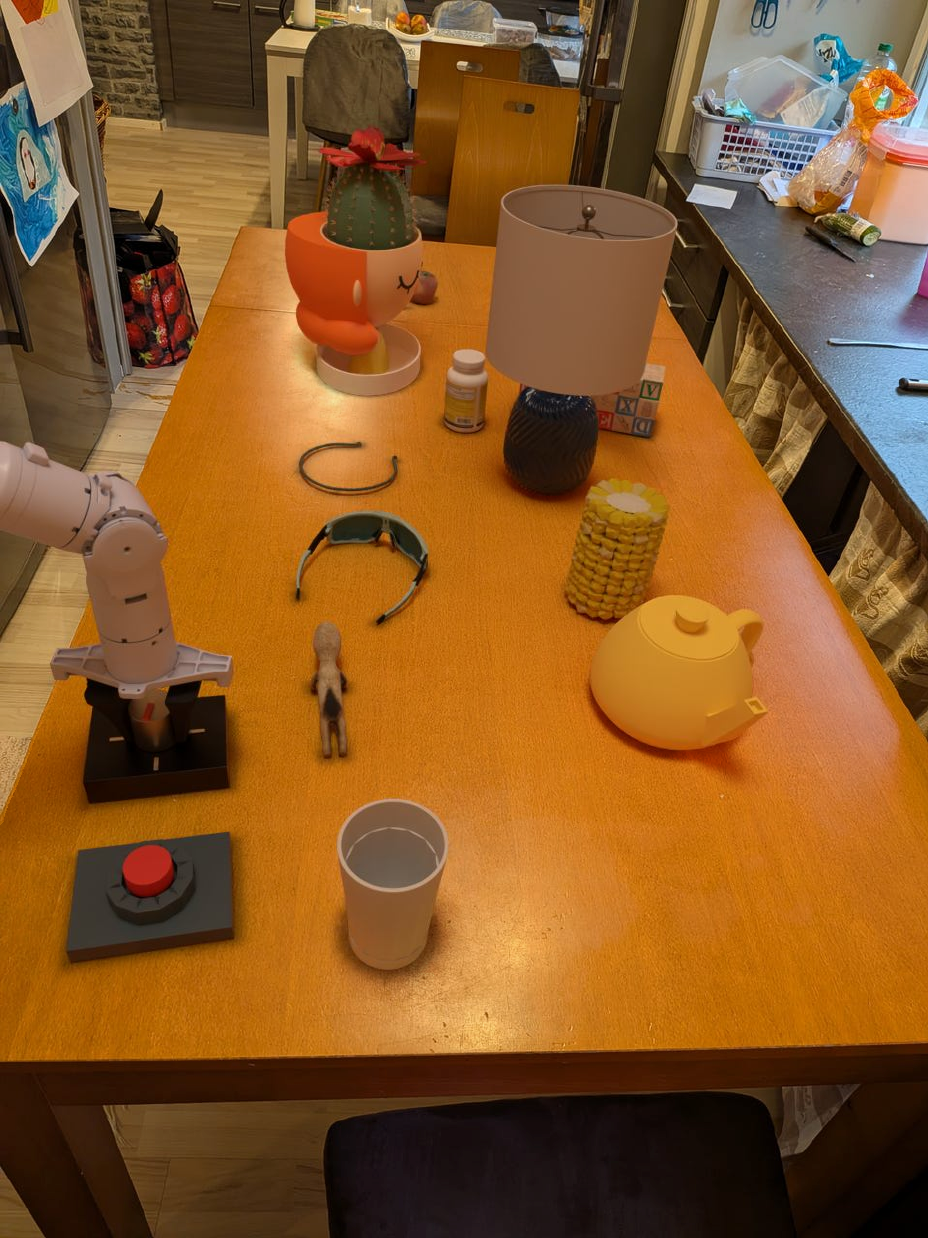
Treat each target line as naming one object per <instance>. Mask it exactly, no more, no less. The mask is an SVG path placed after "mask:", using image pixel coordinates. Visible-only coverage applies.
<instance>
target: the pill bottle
mask: <svg viewBox="0 0 928 1238" xmlns="http://www.w3.org/2000/svg"><path fill="white" fill-rule="evenodd" d="M485 364H486V355H485V354H484V353H483V352H481V351H479V350H476V349H471V348H470V349H469V348H467V349H466V348H465V349H459V350H456V351H455V352H453V354H452V365H451V366H450V367H449V368H448V369H447V372H446V379H445V393H444V408H443V409H444V410H443V423H444V425H445V426H446V427H447V428H448V429H450V430H452V431H454V432H457V433H463V434H464V433H466V434H468V433H475V432H478V431H480V430H481V429H482V428H483V427H484V424H485V415H486V405H487V394H488V383H489V375H488V374H489V373H488V372H487V371H486V369H485V366H486V365H485Z"/></svg>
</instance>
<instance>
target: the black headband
mask: <svg viewBox="0 0 928 1238" xmlns="http://www.w3.org/2000/svg"><path fill="white" fill-rule="evenodd" d="M335 446H341V447H342V446H343V447H344V446H345V447H360V446H362V442H361V441H357V442H355V443H354V442H353V443H352V442H329V443H324V444H320V445H316V446H314V447H312V448H310V449H307V450H306V451H304V453H303V454H302V455H301V456H300V458H299V460H298V468H299V470H300V473H301V474H302V476H303V477H304V478H305V479H306V480H308V481H309V482H310V483H312V484H314V485H316V486H317V487H320V488H324V489H326V490H331V491H337V492H349V493H351V492H352V493H353V492H362V491H370V490H375V489H377V488H380V487H383V486H387V485H388V484H390V483H392V481H394V479H395V477H396V476H397V473H398V465H397V461H396V460H398V456H397V455H395V454H394V455H392V457H391V461H392V464H393V467H394V470H393V473H392V475H391V476H390V477H389V478H388V479H387V480H385V481H383V482H380V483H377V484H374V485H370V486H364V487H348V488H347V487H337V486H330V485H326V484H324V483H320V482H318V481H316V480H314V479H313V478H311V477H310V476H309V475H308V474H307V473H306V472H305V470H304V466H303V461H304V460H305V458H306V457H307V456H308V455H310V453H312V452H314V451H318V450H319V449H323V448H326V447H335Z"/></svg>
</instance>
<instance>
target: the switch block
mask: <svg viewBox="0 0 928 1238" xmlns="http://www.w3.org/2000/svg"><path fill="white" fill-rule="evenodd" d="M231 839H232V838H231V831H222V832H213V833H205V834H199V835H198V834H197V835H190V836H181V837H173V838H166V839H165V838H161V839H160V838H159V839H150V840H143V841H139V842H134V843H133V842H132V843H125V844H124V843H123V844H117V845H110V846H109V845H107V846H101V847H92V848H84V849H78V850H77V858H76V866H75V874H74V882H73V890H72V899H71V905H70V913H69V914H70V915H69V921H68V932H67V939H66V947H65V952H66V955H67V957H68V961H69V962H70V963H78V962H83V961H89V960H90V961H91V960H96V959H104V958H111V957H118V956H123V955H124V956H125V955H129V954H130V955H131V954H136V953H143V952H150V951H158V950H164V949H171V948H177V947H183V946H185V947H186V946H190V945H191V946H193V945H198V944H205V943H211V942H218V941H224V940H225V941H226V940H232V939H234V937H235V936H234V935H235V934H234V933H235V932H234V897H233V895H234V893H233V862H232V861H233V859H232V858H233V856H232V840H231ZM147 845H157V846H160V847H163V848H164V849H166V850H167V851H168V852H169V854H170V856H171V859H172V864H173V868H174V878H173V881H172V883H171V885H170V886H169V887H168V888H167V889H166V890H165V891H163V892H162V893H160V894H158V895H156V896H153V897H139V896H136V895H134V894H132V893H131V892H130V891H129V889H128V888H127V885H126V881H125V878H124V874H123V864H124V862H125V860H126V858H127V857H128V855H129V854H130V853H132V852H133V851H134V850H136V849H138V848H140V847H143V846H147Z"/></svg>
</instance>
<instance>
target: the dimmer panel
mask: <svg viewBox="0 0 928 1238" xmlns="http://www.w3.org/2000/svg"><path fill="white" fill-rule="evenodd" d="M90 713H91V714H90V720H89V721H90V722H89V729H88V738H87V746H86V753H85V760H84V767H83V776H82V785H83V788H84V790H85V791H84V792H85V795H86V798H87V801H88V802H87V803H88V804H89V805H91V804H93V805H94V804H100V803H101V804H102V803H109V802H117V801H126V800H127V801H128V800H136V799H137V800H138V799H145V798H146V799H147V798H155V797H162V796H163V797H164V796H173V795H181V794H190V793H197V792H198V793H199V792H207V791H215V790H224V789H225V790H226V789H230V788H231V787H230V785H231V784H230V783H231V781H230V749H229V747H230V745H229V744H230V743H229V715H228V714H229V713H228V707H227V700H226V694H219V695H218V694H217V695H209V696H208V695H207V696H198V697H197V700H196V703H195V705H194V708H193V709H192V711H191V713H190V728H189V732H188V735H187V739H186V742H185V743H177V742H176V743H175V744H174V745H173V746H172V747H170V748H168V749H166V750H163V751H159V752H148V751H144V750H142V749H141V748H139V747H138V746H137V745H136V743H135V740H134V737H133V740H132V741H125V740H124V738H123V737H122V735H121V734H120V732H119V731H118V730H117V728H116V727H115V726H114V724H113V723H112V722H111V721H110V720H109V719H108V718H107V717H106V716H105V715H104V714H103V713H101V712H100V711H99V710H97V709H96V708H94V707H92V706H91V712H90Z"/></svg>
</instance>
